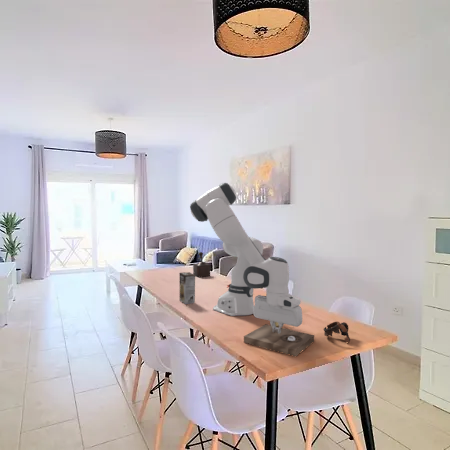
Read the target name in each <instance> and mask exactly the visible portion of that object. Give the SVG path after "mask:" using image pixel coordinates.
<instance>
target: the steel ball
mask: <svg viewBox="0 0 450 450" xmlns="http://www.w3.org/2000/svg"><path fill="white" fill-rule="evenodd" d="M287 340H289V341H295V340H296V339H295V337H293V336H289V337H288V338H287Z"/></svg>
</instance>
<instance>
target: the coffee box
mask: <svg viewBox="0 0 450 450" xmlns="http://www.w3.org/2000/svg"><path fill="white" fill-rule="evenodd" d="M179 301H180V302H181V303H183V304H184V305H188V304H195V302H196V276H195V275H194V274H193V273H192V272H189V271H186V272H179Z"/></svg>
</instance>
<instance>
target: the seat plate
mask: <svg viewBox="0 0 450 450" xmlns="http://www.w3.org/2000/svg"><path fill="white" fill-rule="evenodd" d="M278 328H279V327H278ZM289 336H293V337H295V339H296V340H295V341H289V340H287V338H288V337H289ZM244 342H245V344H248V343H249V344H248V345H251V344H252V346H256V347H259V346H260V347H259V348H262V347H263V349H266V348H267V349H266V350H269V349H271V350H270V351H273V350H275V351H274V352H277V351H279V352H278V353H280V352H283V353H282V354H284V353H286V354H285V355H287V354H290V355H289V356H291V355H293V356H292V357H295V356H296V357H297V356H298V354H299V353H300V352H301V351H302V350H303V351H305V350H306V349H307V348H308V347H310V346H311V345H312V344H313V343H314V342H315V334H311V333H305V332H301V331H298V330H293V329H288V328H285V327H284V328H283V327H282V328H281V333H280V334H279V333H275V332H273V328H272V327H271V324H269V323H268V324H266V323H265V324H264V325H262V326H259V327H258V328H256V329H254V330H253V331H250V332H248V334H246V335H244V336H243V343H244ZM312 342H313V343H312ZM311 343H312V344H311ZM307 346H308V347H307ZM306 347H307V348H306ZM305 348H306V349H305ZM303 351H302V352H303ZM302 352H301V353H302ZM301 353H300V354H301Z"/></svg>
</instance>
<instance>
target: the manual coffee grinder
mask: <svg viewBox="0 0 450 450" xmlns="http://www.w3.org/2000/svg"><path fill="white" fill-rule="evenodd" d="M198 255H199V257H198V258H197V260H200V259H201V260H200V261H199V262H198V263H193V265H192V266H193V268H192V271H193V273H192V274H194V275H195V278H196V277H197V278H200V279H201V278H207V277H211V264H209V263H208V262H206V261H203V258H204V256H203V255H204V253H203V252H202V251H200V252H198Z"/></svg>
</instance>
